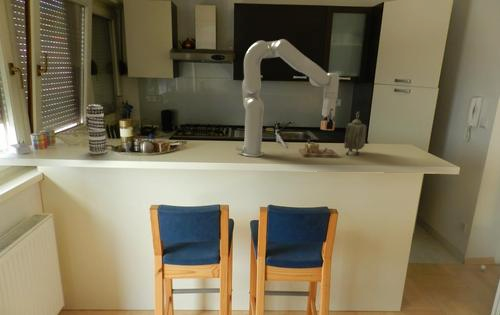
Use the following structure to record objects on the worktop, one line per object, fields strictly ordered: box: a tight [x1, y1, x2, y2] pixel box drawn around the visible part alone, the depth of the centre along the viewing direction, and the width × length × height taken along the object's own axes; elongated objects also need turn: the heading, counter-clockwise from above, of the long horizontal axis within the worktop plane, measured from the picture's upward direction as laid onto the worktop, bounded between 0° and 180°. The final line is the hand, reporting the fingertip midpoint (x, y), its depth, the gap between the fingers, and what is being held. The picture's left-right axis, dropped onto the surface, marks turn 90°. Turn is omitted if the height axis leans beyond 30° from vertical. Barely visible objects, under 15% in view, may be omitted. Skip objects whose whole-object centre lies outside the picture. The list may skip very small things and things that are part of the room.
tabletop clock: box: [343, 111, 368, 156], centre depth 190 cm, size 14×9×25 cm, turn 152°
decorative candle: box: [85, 104, 108, 155], centre depth 173 cm, size 9×9×25 cm
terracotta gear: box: [320, 120, 336, 131], centre depth 185 cm, size 7×7×4 cm
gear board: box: [298, 139, 340, 159], centre depth 188 cm, size 20×14×8 cm
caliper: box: [276, 132, 288, 149], centre depth 211 cm, size 20×1×6 cm, turn 12°
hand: (327, 127), depth 185 cm, fingers closed on terracotta gear, 7 cm apart
